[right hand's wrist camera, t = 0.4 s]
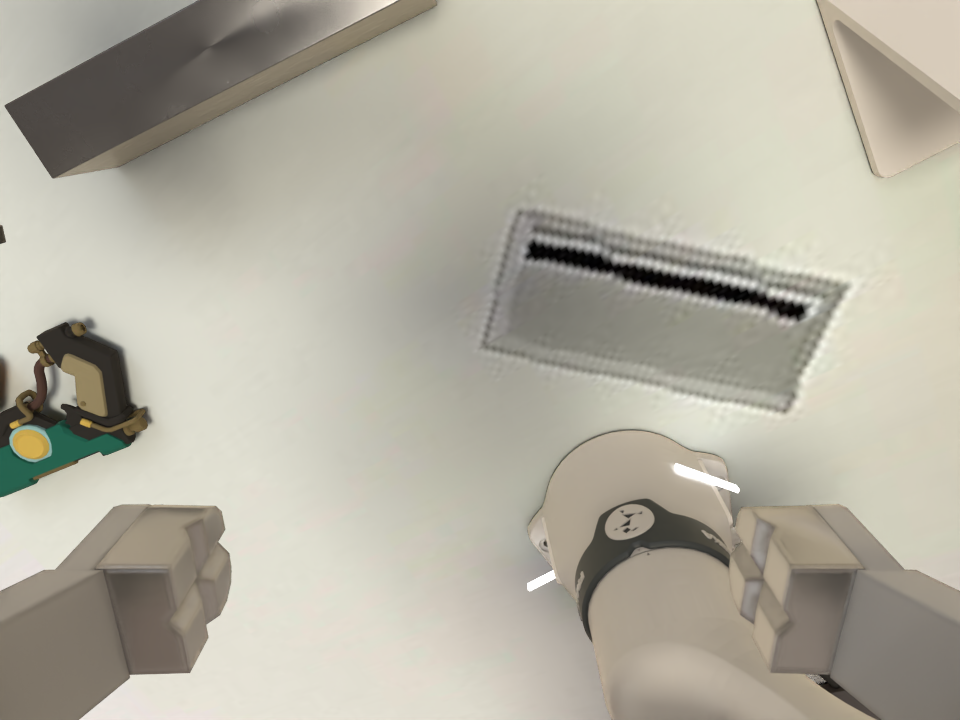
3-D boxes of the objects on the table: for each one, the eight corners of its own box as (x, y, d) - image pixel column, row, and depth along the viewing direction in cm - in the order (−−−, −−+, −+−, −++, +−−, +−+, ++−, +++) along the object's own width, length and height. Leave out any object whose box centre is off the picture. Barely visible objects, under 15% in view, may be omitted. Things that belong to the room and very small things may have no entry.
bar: (406, -69, 43) (391, -105, 36) (437, 5, 45) (429, -15, 38) (78, 105, 47) (3, 105, 40) (117, 167, 49) (52, 179, 41)
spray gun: (120, 310, 54) (173, 465, 60) (-85, 334, 53) (-11, 487, 59) (96, 328, 50) (155, 491, 56) (-126, 354, 49) (-42, 516, 55)
